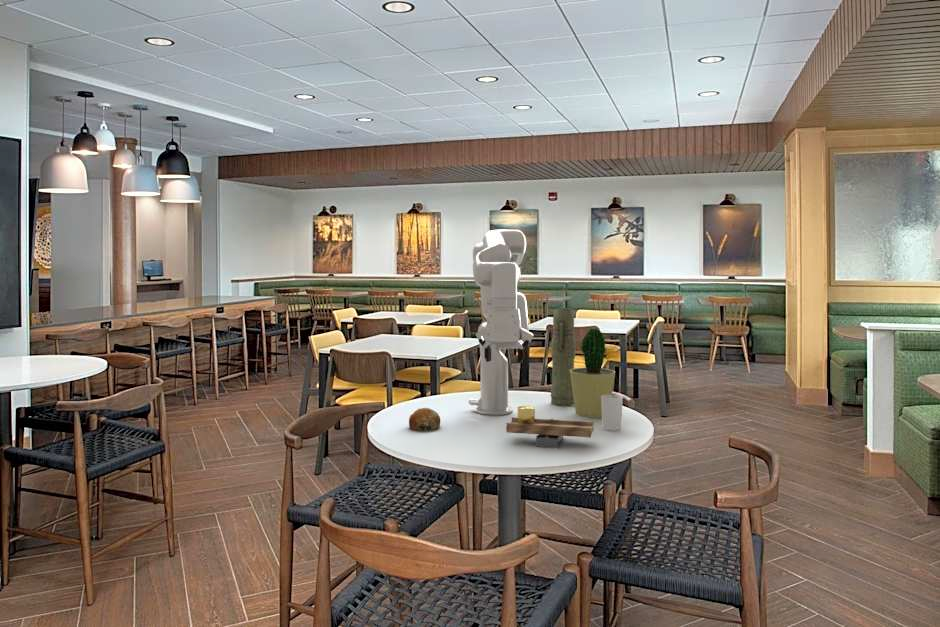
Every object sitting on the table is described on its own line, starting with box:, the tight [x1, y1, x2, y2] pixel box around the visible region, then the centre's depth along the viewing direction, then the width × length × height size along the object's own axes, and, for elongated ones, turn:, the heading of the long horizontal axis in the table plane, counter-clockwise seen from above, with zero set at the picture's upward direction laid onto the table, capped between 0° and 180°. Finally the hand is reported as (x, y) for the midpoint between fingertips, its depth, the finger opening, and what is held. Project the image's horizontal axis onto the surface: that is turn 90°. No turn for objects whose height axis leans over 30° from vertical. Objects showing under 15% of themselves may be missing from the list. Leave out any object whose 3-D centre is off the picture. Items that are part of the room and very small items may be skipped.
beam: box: [505, 416, 595, 438], centre depth 205 cm, size 24×9×3 cm, turn 75°
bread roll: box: [408, 407, 441, 432], centre depth 224 cm, size 10×10×8 cm
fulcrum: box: [535, 434, 564, 449], centre depth 206 cm, size 6×12×3 cm, turn 165°
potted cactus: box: [570, 327, 616, 418], centre depth 243 cm, size 15×15×30 cm
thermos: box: [550, 307, 577, 406], centre depth 260 cm, size 9×12×35 cm
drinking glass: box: [601, 394, 624, 431], centre depth 222 cm, size 7×7×10 cm
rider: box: [517, 405, 536, 424], centre depth 207 cm, size 5×5×5 cm
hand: (504, 361), depth 211 cm, fingers open, 9 cm apart
